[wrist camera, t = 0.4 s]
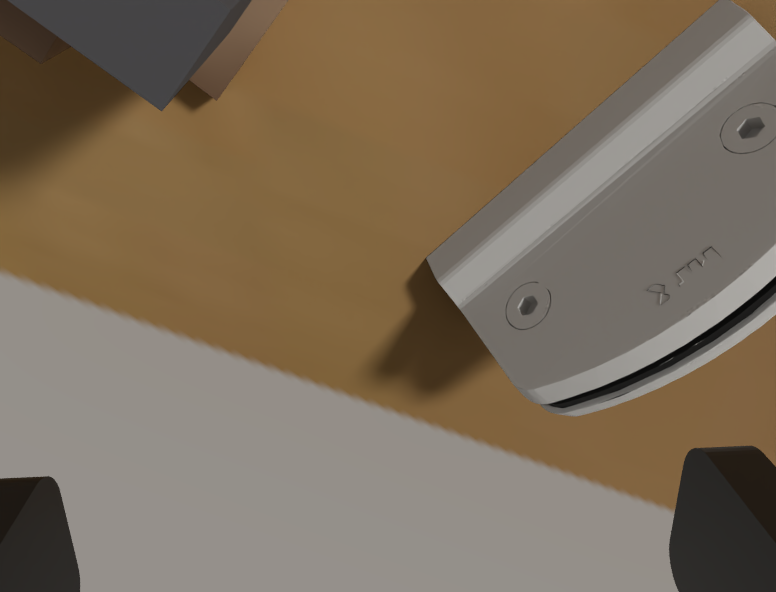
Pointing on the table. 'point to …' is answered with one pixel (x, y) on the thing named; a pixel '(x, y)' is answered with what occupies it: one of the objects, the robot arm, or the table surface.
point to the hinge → (634, 229)
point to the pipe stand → (209, 77)
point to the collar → (141, 37)
